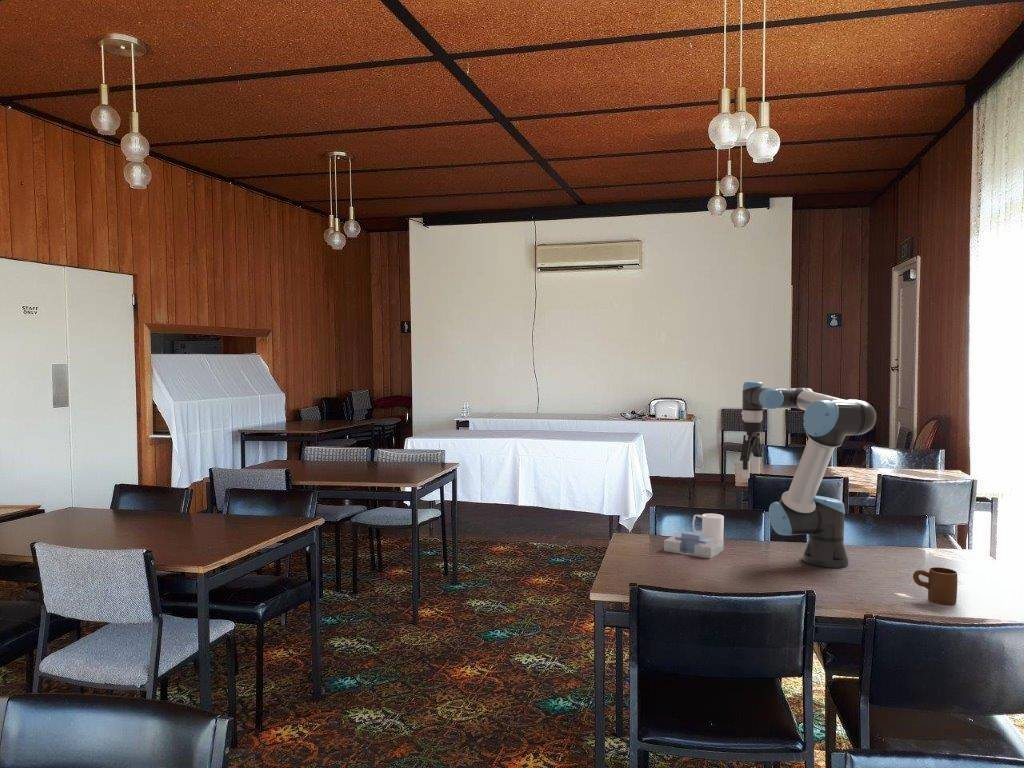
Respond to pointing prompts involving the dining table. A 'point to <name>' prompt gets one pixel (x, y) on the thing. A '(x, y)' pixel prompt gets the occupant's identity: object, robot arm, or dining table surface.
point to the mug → (939, 584)
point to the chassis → (700, 549)
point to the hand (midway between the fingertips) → (750, 475)
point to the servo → (691, 539)
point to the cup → (711, 525)
